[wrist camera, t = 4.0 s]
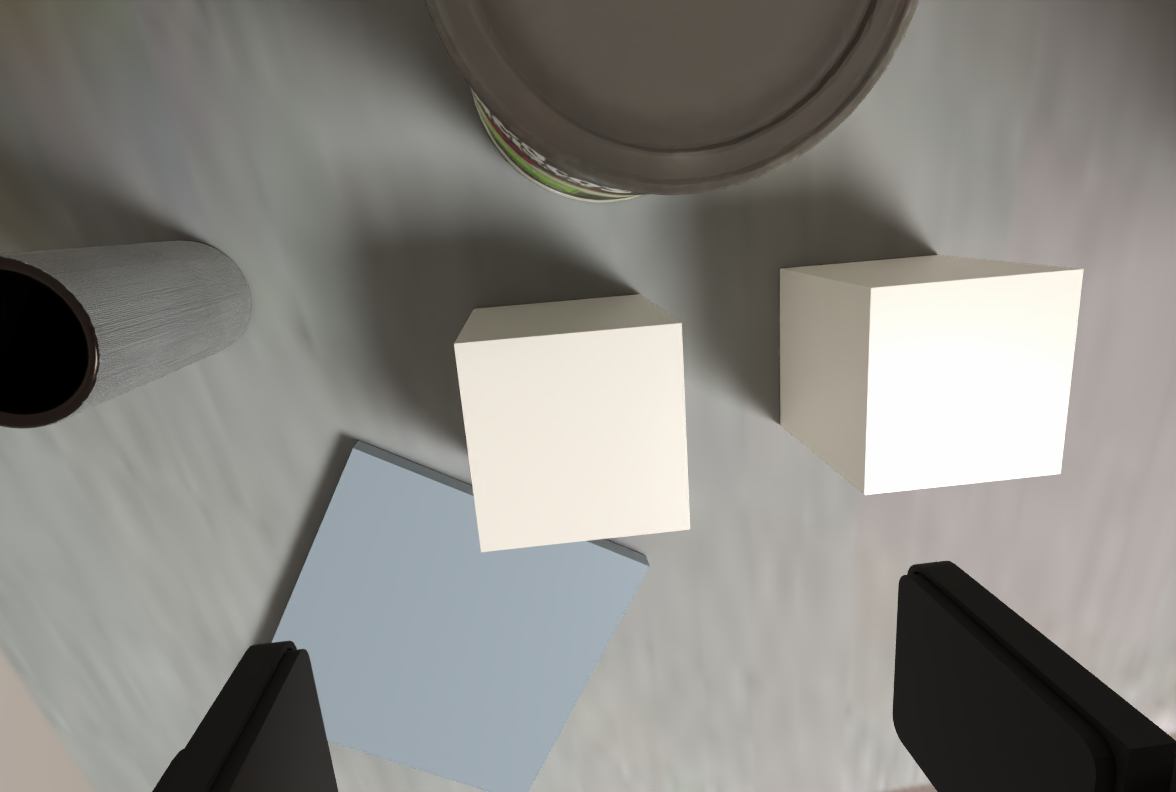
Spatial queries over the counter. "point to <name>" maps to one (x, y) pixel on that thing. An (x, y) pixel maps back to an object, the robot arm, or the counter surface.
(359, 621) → the slate board
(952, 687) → the robot arm
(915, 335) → the plain white cube box
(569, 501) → the white box
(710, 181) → the coffee can
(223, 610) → the counter surface
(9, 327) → the grey cylinder
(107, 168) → the counter surface
